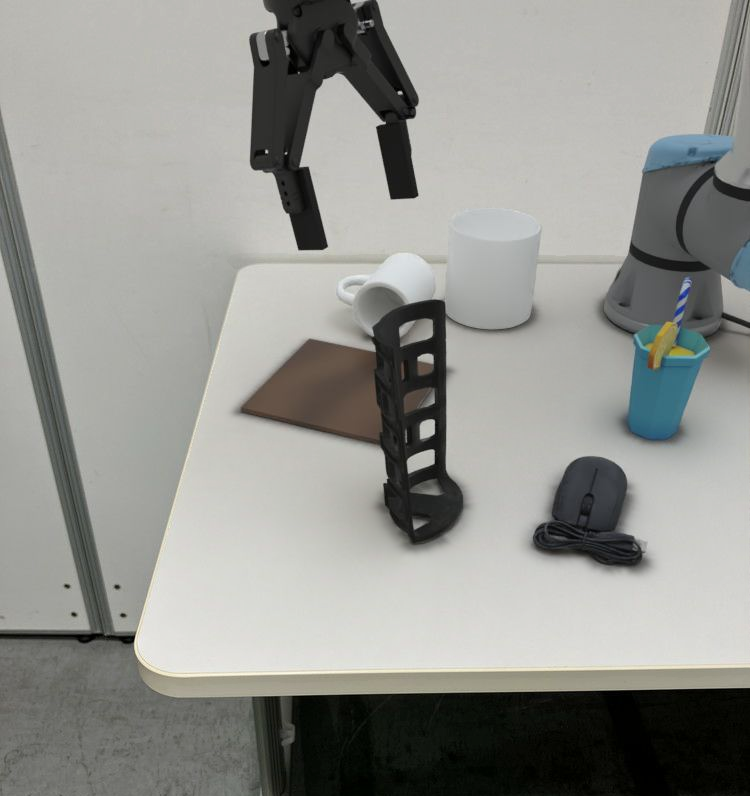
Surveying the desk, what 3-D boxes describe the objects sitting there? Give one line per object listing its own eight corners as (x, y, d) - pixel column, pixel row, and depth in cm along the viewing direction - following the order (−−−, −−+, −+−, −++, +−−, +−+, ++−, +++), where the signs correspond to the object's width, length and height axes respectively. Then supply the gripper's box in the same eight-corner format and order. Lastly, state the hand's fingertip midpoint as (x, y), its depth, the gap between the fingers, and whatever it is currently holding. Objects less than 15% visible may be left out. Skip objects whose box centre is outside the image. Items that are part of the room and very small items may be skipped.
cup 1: (548, 318, 123) (560, 231, 115) (475, 337, 118) (483, 247, 111) (497, 285, 131) (506, 202, 123) (427, 302, 126) (432, 216, 119)
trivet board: (444, 370, 111) (445, 366, 111) (391, 447, 98) (391, 442, 97) (309, 342, 116) (309, 338, 116) (240, 411, 103) (240, 407, 102)
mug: (434, 313, 123) (438, 256, 118) (411, 346, 116) (413, 286, 111) (351, 299, 126) (351, 243, 122) (323, 330, 119) (322, 271, 114)
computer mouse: (647, 479, 94) (655, 448, 91) (642, 571, 82) (651, 538, 80) (548, 463, 96) (553, 432, 93) (530, 551, 84) (535, 518, 82)
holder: (454, 549, 84) (446, 351, 72) (373, 544, 85) (353, 349, 74) (469, 481, 93) (464, 294, 81) (395, 478, 94) (380, 294, 83)
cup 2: (627, 386, 108) (653, 266, 99) (695, 400, 106) (727, 278, 97) (606, 447, 98) (632, 319, 89) (680, 464, 96) (715, 334, 87)
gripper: (358, -65, 80) (405, 181, 91) (148, -19, 64) (235, 273, 75) (428, -85, 76) (470, 177, 86) (222, -40, 60) (303, 273, 71)
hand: (361, 222), depth 81 cm, fingers open, 13 cm apart
